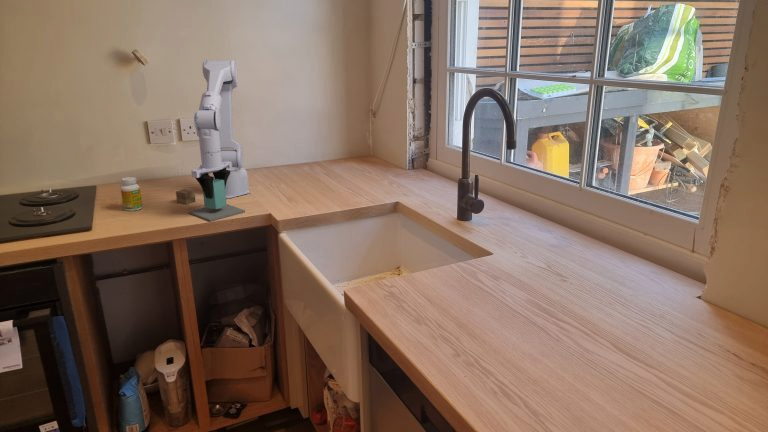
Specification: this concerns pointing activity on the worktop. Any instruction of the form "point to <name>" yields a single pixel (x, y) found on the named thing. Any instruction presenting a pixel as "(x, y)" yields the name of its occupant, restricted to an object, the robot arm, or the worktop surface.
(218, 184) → the teal block
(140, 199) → the supplement bottle
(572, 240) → the worktop surface
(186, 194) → the walnut block
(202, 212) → the slate mat
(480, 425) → the worktop surface
